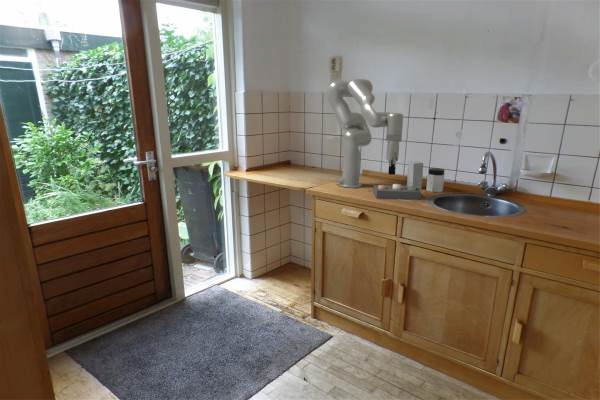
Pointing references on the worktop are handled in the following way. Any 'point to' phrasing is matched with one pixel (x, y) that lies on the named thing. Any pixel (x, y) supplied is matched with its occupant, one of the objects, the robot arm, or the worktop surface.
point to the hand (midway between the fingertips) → (391, 174)
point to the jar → (435, 180)
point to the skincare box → (415, 174)
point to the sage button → (411, 188)
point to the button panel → (396, 193)
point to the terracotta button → (382, 186)
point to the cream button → (396, 187)
